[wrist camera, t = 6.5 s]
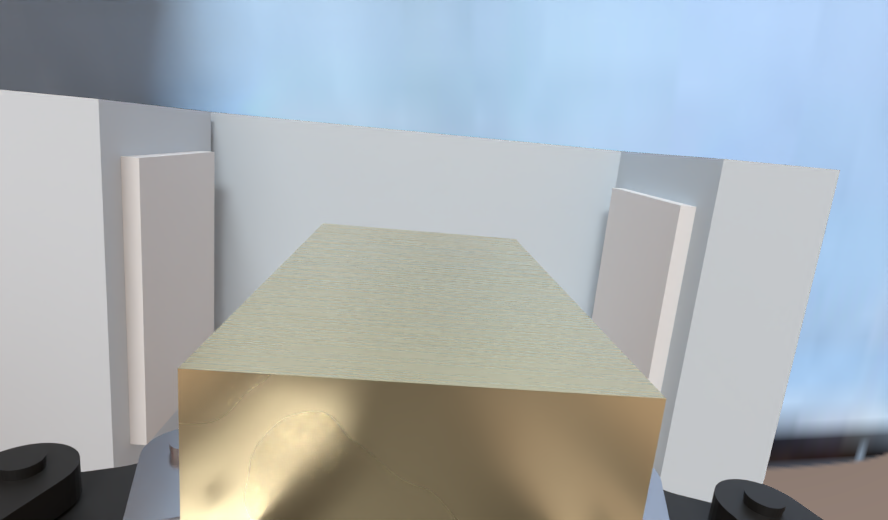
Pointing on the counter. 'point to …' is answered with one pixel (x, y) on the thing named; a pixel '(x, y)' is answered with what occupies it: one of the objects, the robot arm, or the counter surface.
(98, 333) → the jaw
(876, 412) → the counter surface
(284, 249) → the vise
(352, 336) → the block
